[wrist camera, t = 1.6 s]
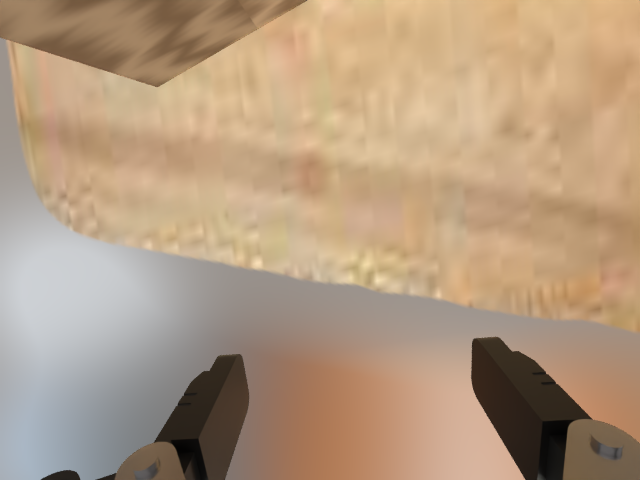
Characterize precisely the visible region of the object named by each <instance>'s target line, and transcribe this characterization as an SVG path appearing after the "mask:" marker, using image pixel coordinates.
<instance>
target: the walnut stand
mask: <svg viewBox="0 0 640 480" xmlns="http://www.w3.org/2000/svg"><path fill="white" fill-rule="evenodd" d="M305 1H307V0H0V37H1V38H3V39H7V40H10V41H13V42H16V43H19V44H22V45H26V46H29V47H32V48H35V49H38V50H41V51H45V52H48V53H51V54H54V55H57V56H60V57H64V58H67V59H70V60H73V61H76V62H79V63H83V64H86V65H89V66H92V67H95V68H98V69H102V70H105V71H108V72H111V73H114V74H117V75H120V76H124V77H127V78H130V79H133V80H136V81H139V82H143V83H146V84H149V85H152V86H155V87H158V86H160V85H162V84H164V83H165V82H167V81H169V80H170V79H172V78H174V77H176V76H177V75H179V74H181V73H183V72H184V71H186V70H188V69H189V68H191V67H193V66H195V65H196V64H198V63H200V62H202V61H203V60H205V59H207V58H208V57H210V56H212V55H214V54H215V53H217V52H219V51H221V50H222V49H224V48H226V47H227V46H229V45H231V44H233V43H234V42H236V41H238V40H240V39H241V38H243V37H245V36H246V35H248V34H250V33H252V32H253V31H255V30H257V29H259V28H260V27H262V26H264V25H265V24H267V23H269V22H271V21H272V20H274V19H276V18H277V17H279V16H281V15H283V14H284V13H286V12H288V11H290V10H291V9H293V8H295V7H296V6H298V5H300V4H302V3H303V2H305Z"/></svg>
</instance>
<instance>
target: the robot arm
mask: <svg viewBox="0 0 640 480" xmlns="http://www.w3.org/2000/svg"><path fill="white" fill-rule="evenodd" d="M471 379H472V386H473V390H474V393H475V395H476V397H477V399H478V401H479V402H480V404H481V406H482V407H483V409H484V411H485V413H486V414H487V416H488V418H489V419H490V421H491V423H492V424H493V426H494V428H495V429H496V431H497V433H498V434H499V436H500V438H501V439H502V441H503V443H504V445H505V446H506V448H507V449H508V451H509V453H510V455H511V456H512V458H513V459H514V461H515V463H516V465H517V466H518V468H519V469H520V471H521V473H522V474H523V476H524V478H525V480H640V443H639V442H638V441H637V440H635V439H634V438H633V437H632V436H630V435H629V434H627V433H626V432H624V431H623V430H621V429H619V428H617V427H615V426H613V425H610V424H608V423H605V422H601V421H597V420H593V419H592V418H591V417H590V416H589V415H588V414H587V413H586V412H585V411H584V410H583V409H582V408H581V407H580V406H579V405H578V404H577V403H576V402H575V401H574V400H573V399H572V398H571V397H570V396H569V395H568V394H567V393H566V392H565V391H564V390H563V389H562V388H561V387H560V386H559V385H558V384H556V382H555V381H554V380H553V379H552V378H551V377H550V376H549V375H548V374H546V372H545V371H544V370H543V369H542V368H541V367H540V366H539V365H538V364H537V363H536V362H535V361H534V360H533V359H531V358H529V357H527V356H526V355H524V354H522V353H521V352H519V351H514V352H512V351H511V350H510V349H509V348H508V347H507V345H505V343H504V342H503V341H502V340H501V339H500V338H498V337H488V338H476V339H473V342H472V371H471ZM248 405H249V390H248V384H247V379H246V374H245V368H244V363H243V358H242V356H241V355H240V354H233V355H220V356H218V357H217V359H216V360H215V362H214V364H213V366H212V368H211V369H210V371H204V372H202V373H201V374H200V375H199V376H197V377H196V378H195V379H194V380H193V381H192V382H191V383H190V385H189V386H188V388H187V390H186V391H185V393H184V396H182V398H181V399H180V401H179V403H178V406H176V408H175V409H174V411H173V412H172V414H171V416H170V417H169V419H168V420H167V422H166V424H165V425H164V427H163V429H162V430H161V432H160V433H159V435H158V437H157V438H156V440H155V442H154V443H152V444H149V445H147V446H144V447H142V448H140V449H139V450H137V451H136V452H134V453H133V454H132V455H130V456H129V457H128V458H127V459H126V460H125V461H124V462H123V464H122V465H121V466H120V468H119V469H118V471H117V473H115V474H112V475H109V476H106V477H103V478H100V479H97V480H225V477H226V475H227V471H228V468H229V465H230V462H231V459H232V456H233V453H234V450H235V447H236V444H237V441H238V438H239V435H240V432H241V429H242V426H243V423H244V420H245V417H246V414H247V410H248ZM41 480H80V477H79V475H78V474H77V472H75V471H71V470H65V471H60V472H56V473H53V474H51V475H49V476H47V477H45V478H43V479H41Z"/></svg>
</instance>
